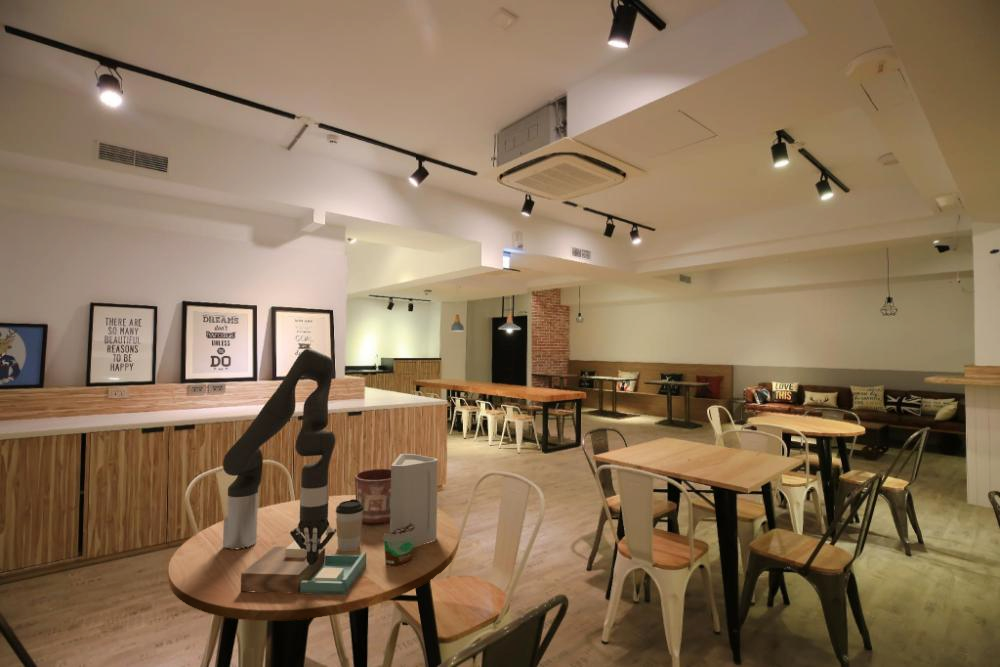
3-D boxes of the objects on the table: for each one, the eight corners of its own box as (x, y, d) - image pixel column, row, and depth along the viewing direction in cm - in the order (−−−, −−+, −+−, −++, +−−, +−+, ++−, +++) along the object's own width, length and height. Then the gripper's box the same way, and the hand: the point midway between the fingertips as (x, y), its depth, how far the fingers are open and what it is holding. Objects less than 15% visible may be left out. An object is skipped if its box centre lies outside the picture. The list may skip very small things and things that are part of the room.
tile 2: (336, 578, 130) (335, 587, 130) (343, 568, 136) (343, 577, 136) (314, 577, 130) (314, 586, 130) (323, 567, 136) (323, 576, 136)
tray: (300, 593, 128) (300, 578, 128) (326, 564, 146) (326, 550, 146) (345, 594, 128) (345, 579, 128) (366, 565, 146) (366, 551, 146)
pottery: (347, 517, 187) (348, 472, 188) (388, 509, 198) (389, 466, 198) (362, 532, 173) (364, 482, 174) (406, 522, 183) (408, 476, 184)
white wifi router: (433, 550, 157) (435, 466, 159) (388, 550, 157) (390, 465, 158) (438, 529, 176) (440, 453, 178) (398, 529, 176) (400, 453, 177)
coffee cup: (354, 554, 154) (355, 507, 154) (329, 551, 156) (330, 505, 156) (367, 543, 163) (368, 499, 163) (343, 540, 164) (344, 497, 165)
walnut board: (240, 591, 129) (241, 573, 129) (273, 562, 147) (274, 546, 147) (298, 593, 128) (298, 574, 128) (324, 564, 146) (325, 547, 146)
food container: (396, 571, 142) (397, 538, 142) (382, 566, 145) (382, 533, 145) (423, 557, 152) (424, 525, 153) (409, 552, 155) (410, 521, 156)
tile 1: (284, 557, 139) (285, 548, 139) (294, 548, 145) (294, 540, 145) (304, 557, 139) (305, 549, 139) (313, 549, 145) (313, 541, 145)
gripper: (284, 505, 130) (283, 569, 129) (332, 506, 130) (330, 570, 129) (297, 497, 138) (295, 557, 137) (342, 497, 137) (340, 558, 136)
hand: (312, 563), depth 133 cm, fingers closed
